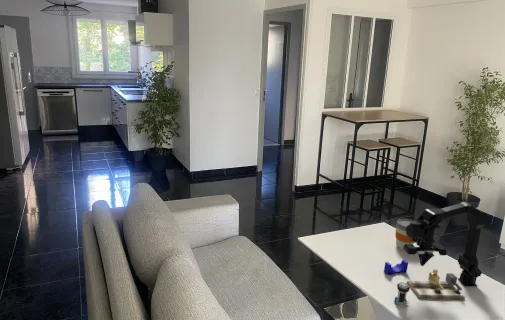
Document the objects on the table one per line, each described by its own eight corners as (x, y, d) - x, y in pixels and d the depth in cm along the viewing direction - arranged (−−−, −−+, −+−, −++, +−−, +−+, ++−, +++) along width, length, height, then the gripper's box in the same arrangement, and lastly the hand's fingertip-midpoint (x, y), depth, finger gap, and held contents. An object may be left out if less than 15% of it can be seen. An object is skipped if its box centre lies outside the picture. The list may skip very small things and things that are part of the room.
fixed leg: (450, 282, 191) (452, 273, 189) (462, 294, 181) (464, 285, 179) (444, 282, 190) (446, 273, 189) (456, 294, 180) (458, 285, 179)
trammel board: (449, 283, 193) (450, 278, 192) (464, 299, 180) (465, 294, 179) (406, 283, 191) (407, 278, 190) (419, 299, 179) (420, 293, 178)
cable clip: (400, 268, 205) (402, 258, 204) (406, 272, 201) (408, 262, 200) (381, 271, 201) (383, 260, 200) (387, 275, 197) (389, 265, 196)
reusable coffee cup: (388, 243, 233) (392, 220, 229) (403, 240, 238) (407, 217, 234) (404, 252, 222) (408, 229, 218) (419, 249, 227) (424, 226, 223)
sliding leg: (433, 281, 190) (436, 268, 188) (444, 293, 180) (447, 279, 178) (427, 281, 190) (430, 267, 188) (438, 293, 180) (441, 279, 178)
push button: (407, 301, 177) (410, 281, 174) (411, 308, 171) (415, 288, 169) (392, 300, 177) (395, 280, 174) (396, 307, 172) (399, 287, 169)
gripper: (437, 229, 189) (432, 257, 193) (401, 227, 188) (396, 256, 192) (450, 239, 179) (443, 269, 183) (411, 238, 177) (405, 268, 181)
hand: (421, 265), depth 185 cm, fingers closed
